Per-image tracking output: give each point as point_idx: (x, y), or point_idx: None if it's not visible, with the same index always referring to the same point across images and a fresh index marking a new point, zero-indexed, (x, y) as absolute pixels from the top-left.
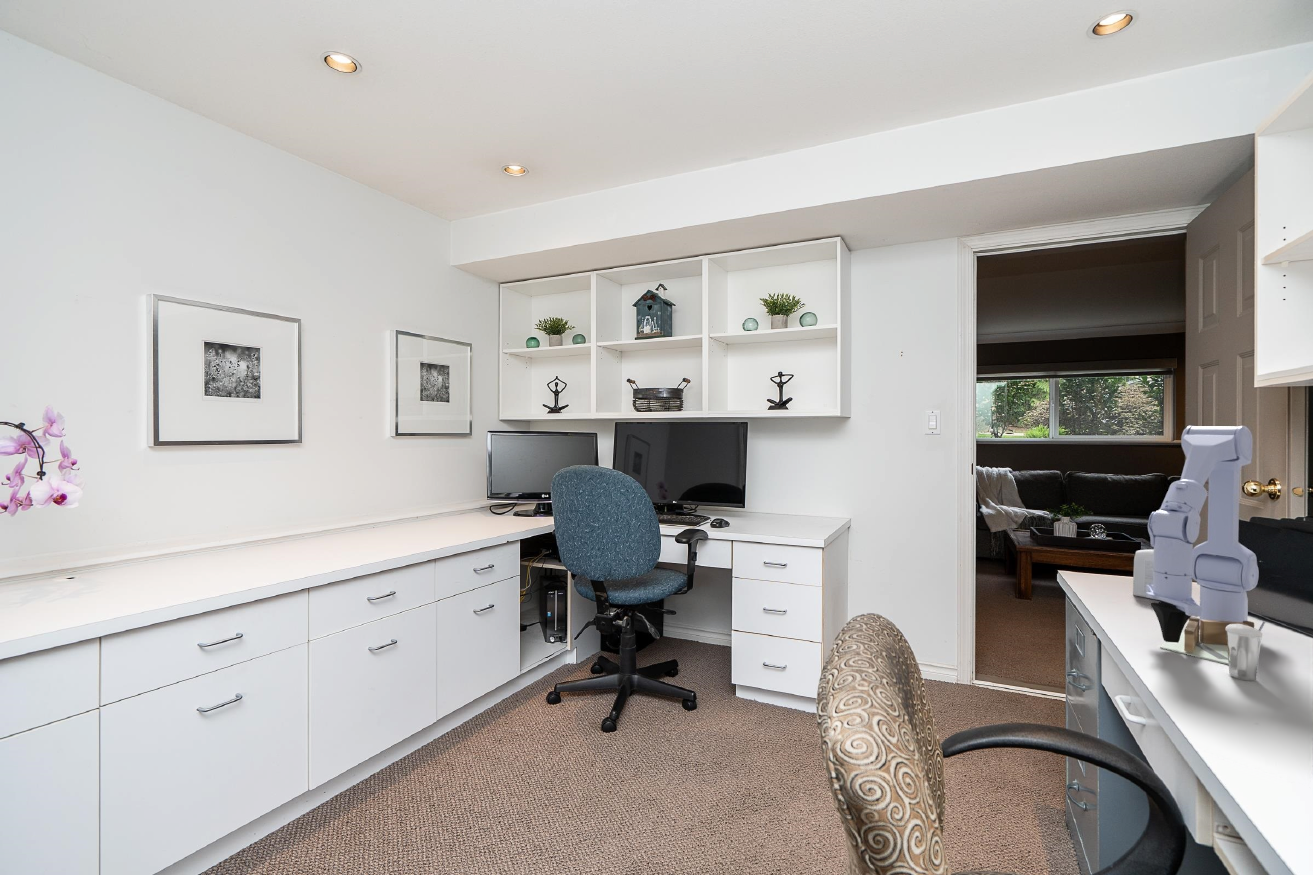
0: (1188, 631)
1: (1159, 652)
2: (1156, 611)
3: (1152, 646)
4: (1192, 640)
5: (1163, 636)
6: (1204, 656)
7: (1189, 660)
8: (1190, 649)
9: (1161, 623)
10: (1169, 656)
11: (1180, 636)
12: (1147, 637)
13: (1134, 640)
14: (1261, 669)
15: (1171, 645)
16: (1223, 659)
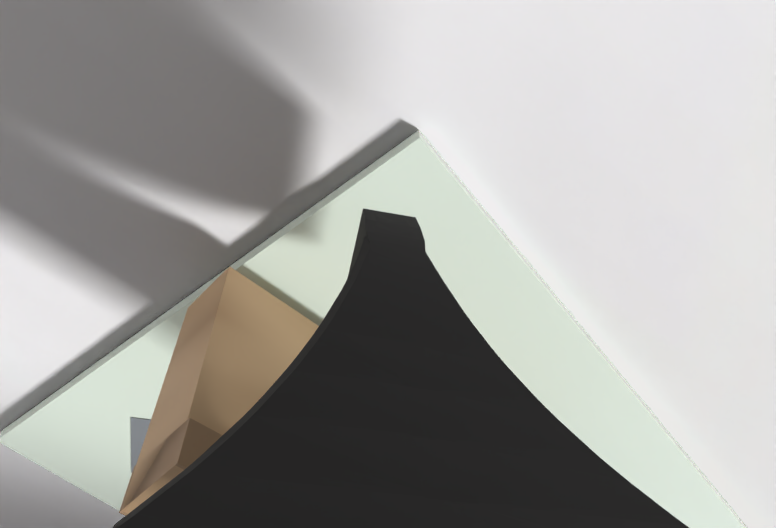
0: (157, 476)
1: (263, 12)
2: (522, 499)
3: (479, 82)
4: (160, 405)
5: (398, 231)
6: (170, 355)
7: (46, 172)
8: (193, 314)
9: (411, 341)
10: (128, 36)
11: (675, 481)
12: (754, 234)
13: (709, 5)
14: (9, 523)
15: (459, 279)
16: (122, 435)
